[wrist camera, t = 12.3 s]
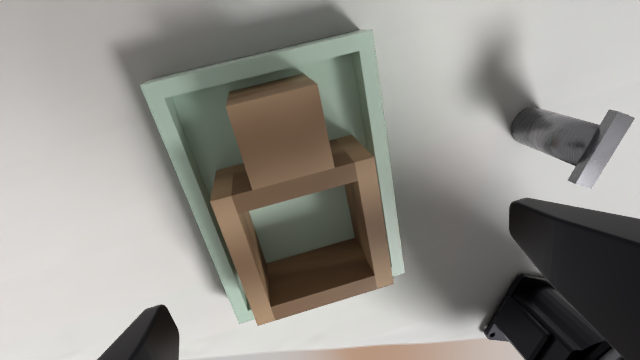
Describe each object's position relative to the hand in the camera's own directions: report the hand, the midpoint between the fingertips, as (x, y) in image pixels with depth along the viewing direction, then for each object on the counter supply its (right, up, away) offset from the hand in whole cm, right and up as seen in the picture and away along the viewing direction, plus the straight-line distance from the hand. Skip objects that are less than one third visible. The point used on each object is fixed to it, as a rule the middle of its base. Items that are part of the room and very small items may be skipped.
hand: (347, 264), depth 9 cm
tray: (-2, +2, +13) cm, 13 cm away
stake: (+13, +6, +14) cm, 20 cm away
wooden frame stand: (-2, +2, +12) cm, 13 cm away
